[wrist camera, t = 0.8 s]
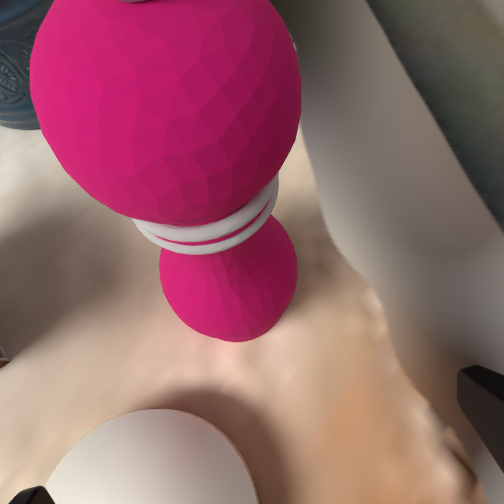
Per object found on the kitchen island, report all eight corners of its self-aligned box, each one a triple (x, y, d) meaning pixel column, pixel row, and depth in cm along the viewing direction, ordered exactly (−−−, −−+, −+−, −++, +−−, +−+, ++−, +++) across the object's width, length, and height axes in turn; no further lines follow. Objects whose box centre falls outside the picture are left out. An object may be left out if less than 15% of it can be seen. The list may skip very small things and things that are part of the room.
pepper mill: (248, 375, 21) (71, 160, 3) (160, 306, 23) (-293, -91, 5) (314, 281, 23) (476, -207, 5) (228, 225, 25) (103, -269, 7)
